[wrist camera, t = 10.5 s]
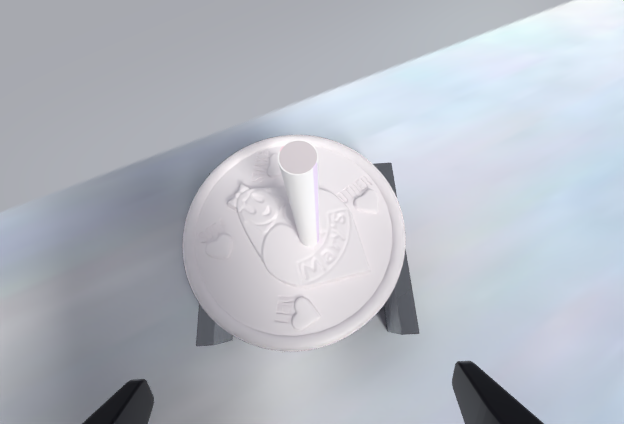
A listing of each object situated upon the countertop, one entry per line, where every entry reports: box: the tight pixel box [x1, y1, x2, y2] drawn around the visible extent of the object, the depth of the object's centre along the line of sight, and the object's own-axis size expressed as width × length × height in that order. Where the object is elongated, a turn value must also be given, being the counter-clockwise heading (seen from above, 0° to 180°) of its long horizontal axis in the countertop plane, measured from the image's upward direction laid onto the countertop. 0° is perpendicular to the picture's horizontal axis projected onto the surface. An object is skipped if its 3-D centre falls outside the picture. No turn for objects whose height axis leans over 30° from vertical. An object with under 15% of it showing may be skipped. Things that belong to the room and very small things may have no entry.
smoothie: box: [182, 135, 406, 351], centre depth 11 cm, size 6×6×14 cm
